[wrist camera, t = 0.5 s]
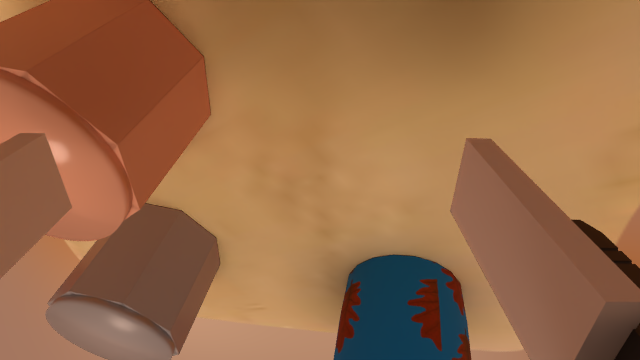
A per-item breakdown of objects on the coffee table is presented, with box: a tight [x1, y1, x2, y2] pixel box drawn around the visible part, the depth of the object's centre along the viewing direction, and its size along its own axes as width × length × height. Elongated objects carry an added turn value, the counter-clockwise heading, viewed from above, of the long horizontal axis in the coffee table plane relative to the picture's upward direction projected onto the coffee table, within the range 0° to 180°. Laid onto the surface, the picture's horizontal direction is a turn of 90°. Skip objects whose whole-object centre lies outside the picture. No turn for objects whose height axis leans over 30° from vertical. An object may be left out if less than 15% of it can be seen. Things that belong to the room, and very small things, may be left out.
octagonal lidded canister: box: [0, 0, 211, 241], centre depth 21 cm, size 10×10×10 cm
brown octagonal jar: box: [46, 203, 220, 360], centre depth 34 cm, size 10×10×10 cm
